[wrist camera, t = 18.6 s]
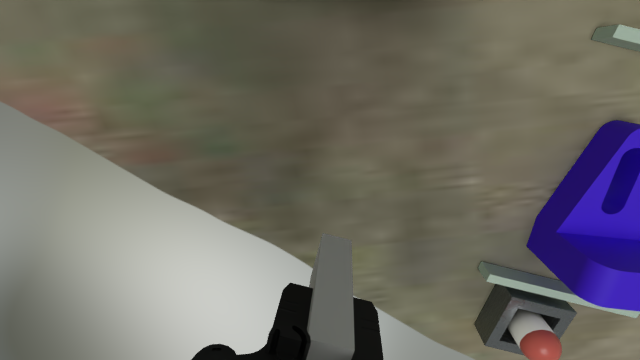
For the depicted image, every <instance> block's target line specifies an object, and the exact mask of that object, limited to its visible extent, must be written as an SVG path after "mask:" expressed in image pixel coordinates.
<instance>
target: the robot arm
mask: <svg viewBox="0 0 640 360" xmlns="http://www.w3.org/2000/svg"><path fill="white" fill-rule="evenodd" d="M378 323H379V321H378V313H377V310H376V309H375V307H374V305H373V304H372V302H370V301H366V300H362V299H358V298H354V297H353V275H352V241H351V240H349V239H345V238H341V237H337V236H333V235H329V234H325V233H323V234H322V237H321V241H320V245H319V249H318V252H317V256H316V260H315V263H314V267H313V271H312V275H311V280H310V285H309V287H305V286H301V285H297V284H293V283H290V284H289V285H287V287H285V289H284V290H283V292H282V296H281V299H280V303H279V306H278V310H277V313H276V317H275V320H274V324H273V327H272V329H271V331H270V333H269V336H268V340H267V344H266V345H265V346H264V347H263V348H262V349H261V350H259V351H257V352H254V353H251V354H243V355H236V353H235V351H234V350H232V349H231V348H230V347H229V346H225V345H222V344H213V345H209V346H207V347H205V348H203V349H202V350H200V351H199V352H198V353H197V354H196V355H195V356H194V357H193V359H192V360H383V353H382V344H381V336H380V328H379V324H378Z"/></svg>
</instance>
